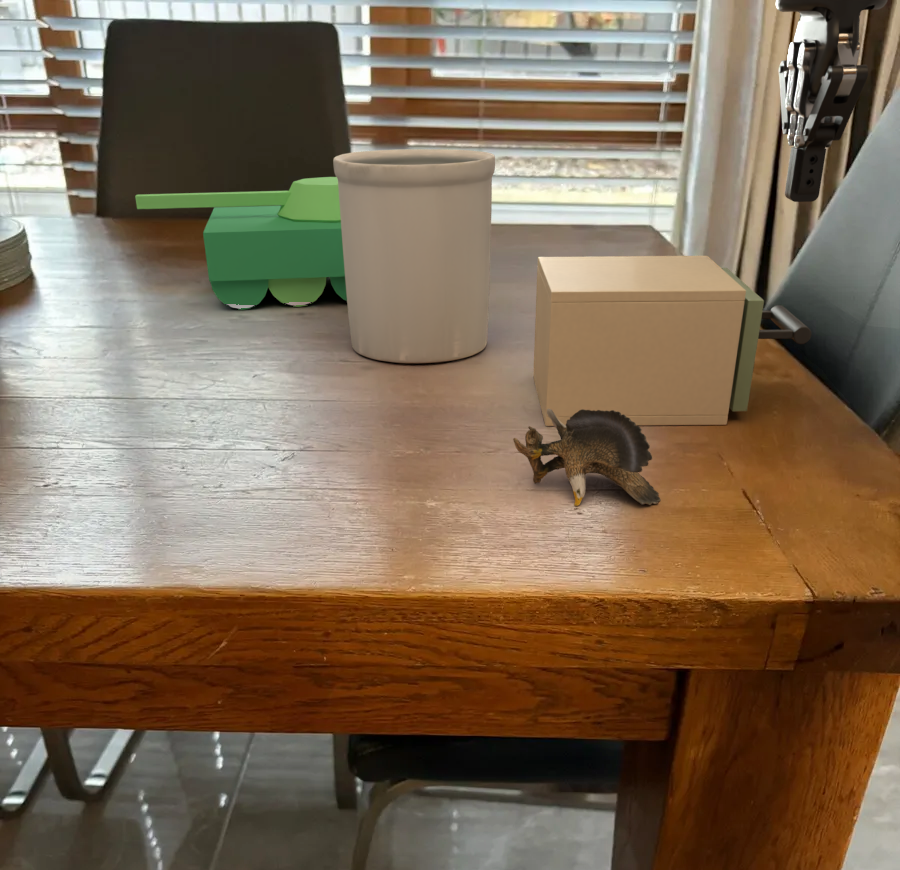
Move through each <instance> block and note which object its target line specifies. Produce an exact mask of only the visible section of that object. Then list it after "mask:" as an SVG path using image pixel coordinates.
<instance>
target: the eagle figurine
mask: <svg viewBox="0 0 900 870" xmlns="http://www.w3.org/2000/svg"><path fill="white" fill-rule="evenodd" d="M547 415H548V416H549V417H550V419H551V420H552V423H553V425H554V426H553V427H554V428H555V429H556V430H557V433H558V436H559V438H560V439H559V440H554V441H550V442H549V443H547V442H546V443H543V440H544V436H543V434H542V433H540V432H539V431H538V430H537V429H536V428H535V427H532V426H530V425H528V427H527V429H528V430H527V431H526V434H525V436H524V438H525V439H524V440H525V444H523V443H522V442H521V441H520V440H519V439H518V438H516V437H514V438H513V439H512V440H513V443H514V446H515V449H516V450H517V451H518V452H519V453H520V454H522V455H523V456H525V457H526V458H527V460H528V462H529V465H530V467H531V469H532V473H533V476H532V482H533V484H537V483H541V481H542V479H544V477H546V476H547V475H548V473H552V472H553V471H555V470H557V471H558V470H561V469H564V472H565V475H566V478H567V479H568V481H569V483H570V486H571V488H572V493H573V497H574V504H573V506H574V507H578V506H580V505H581V502H582V500H583V498H584V497H585V495H586V490H587V489H586V487H587V486H586V475H588V474H598V475H601V476H604V478H607V479H608V480H610V481H611V482H613V483H614V484H616V485H617V486H619V487H620V488H622V489H623V490H624V491H625V492H626V493H627V494H628V495H629V496H630V497H631V498H632V499H633V500H634V501H636V502H637V503H639V504H640V505H645V504H646V505H647V506H651V505H652V504H654V505H657V504H659V502H661V500H662V499H661V497H659V496H660V493H659V492H658V491H657V490H655V488H654V487H653V486H652V485H651V484H650V482H649V481H648V480H646V478H645V477H644V476H642V475H641V474H640V473H641V472H643V467H644V468H645V467H649V462H650V461H652V460H653V455H652V453H651V452H650V451H649V449H650V448H651V444H650V443H649V442H648V441H647V436H646V435H645V434H644V433H643V432H642V428H641V427H640V426H639V425H636V424H635V422H632V421H631V419H630V418H628V417H626V416H625V415H624V414H623V415H621V413H620V412H616V411H614V410H611V411H601V410H597V411H595V410H593V411H591V410H584V409H582V410H579V411H578V412H577V413H575V414H574V415H573V416H572V417H570V419H569V420H567V423H566V426H565V425H564V424H562V423H561V422H560V421H559V420H558V419H557V417H556V415H555V414H554V412H553V411H552V410H551V409H547ZM553 455H554V457H553V458H552V459H549V460H548V461H547V462H545V463H544V462H543V461H542V457H544V456H545V457H546V456H547V457H548V456H553Z"/></svg>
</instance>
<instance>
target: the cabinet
mask: <svg viewBox="0 0 900 870" xmlns="http://www.w3.org/2000/svg"><path fill="white" fill-rule="evenodd" d="M722 268H723V267H721V266H720V265H718V264H717V263H716V262H715V261H714V260H713V259H712V258H710V257H709V256H708V255H626V256H625V255H621V256H619V255H618V256H617V255H615V256H613V255H612V256H611V255H610V256H607V255H606V256H602V255H601V256H599V255H598V256H538V257H537V270H536V296H535V317H534V318H535V321H534V323H535V324H534V349H533V371H532V373H533V374H532V375H533V376H532V378H533V381H534V384H535V390H536V394H537V398H538V401H539V405H540V410H541V414H542V418H543V421H544V426H545V427H555V426H554V425H553V423H552V420H551V419H550V417H549V416H548V415H547V409H551V410H552V411H553V412H554V414H555V415H556V417H557V419H558V420H559V421H560V422H561V423H562V424H564V425H565V426H566V423H567V420H569V419H570V417H572V416H573V415H574V414H575V413H577V412H578V411H579V410H582V409H584V410H591V411H593V410H595V411H597V410H601V411H611V410H614V411H616V412H620V413H621V415H623V414H624V415H625V416H626V417H628V418H630V419H631V421H632V422H635V424H636V426H726V425H728V418H729V413H730V412H729V411H730V407H729V405H730V398H731V391H732V385H733V378H734V371H735V364H736V357H737V350H738V343H739V336H740V329H741V323H742V316H743V309H744V300H745V295H746V290H745V289H744V288H743V287H742V286H740V285H739V284H738V283H737V282H736V281H735V280H734V279H733V278H732V277H730V276H729V275H728V274H727V273H726V272H725V271H724V270H723V269H722Z"/></svg>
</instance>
